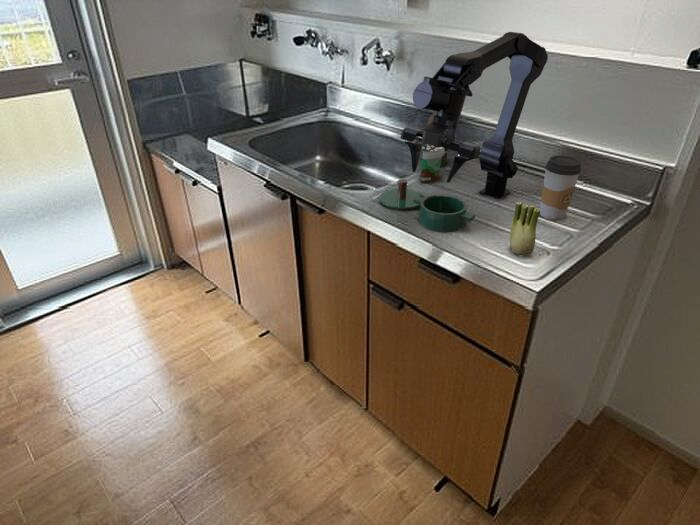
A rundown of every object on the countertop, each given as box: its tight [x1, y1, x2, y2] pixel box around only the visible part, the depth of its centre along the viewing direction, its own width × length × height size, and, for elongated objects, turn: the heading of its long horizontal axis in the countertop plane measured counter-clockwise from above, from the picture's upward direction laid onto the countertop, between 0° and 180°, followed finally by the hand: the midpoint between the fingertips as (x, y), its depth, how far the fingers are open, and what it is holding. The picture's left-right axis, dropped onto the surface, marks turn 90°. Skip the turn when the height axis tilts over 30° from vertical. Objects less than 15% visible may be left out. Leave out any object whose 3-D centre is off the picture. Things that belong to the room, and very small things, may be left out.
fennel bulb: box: [509, 201, 541, 257], centre depth 110 cm, size 6×5×12 cm
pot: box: [413, 194, 476, 233], centre depth 125 cm, size 11×17×5 cm
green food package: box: [420, 144, 445, 184], centre depth 149 cm, size 12×6×10 cm, turn 168°
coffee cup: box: [539, 154, 582, 221], centre depth 126 cm, size 8×8×15 cm
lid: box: [378, 178, 425, 210], centre depth 135 cm, size 12×12×6 cm
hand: (430, 177), depth 122 cm, fingers open, 9 cm apart
